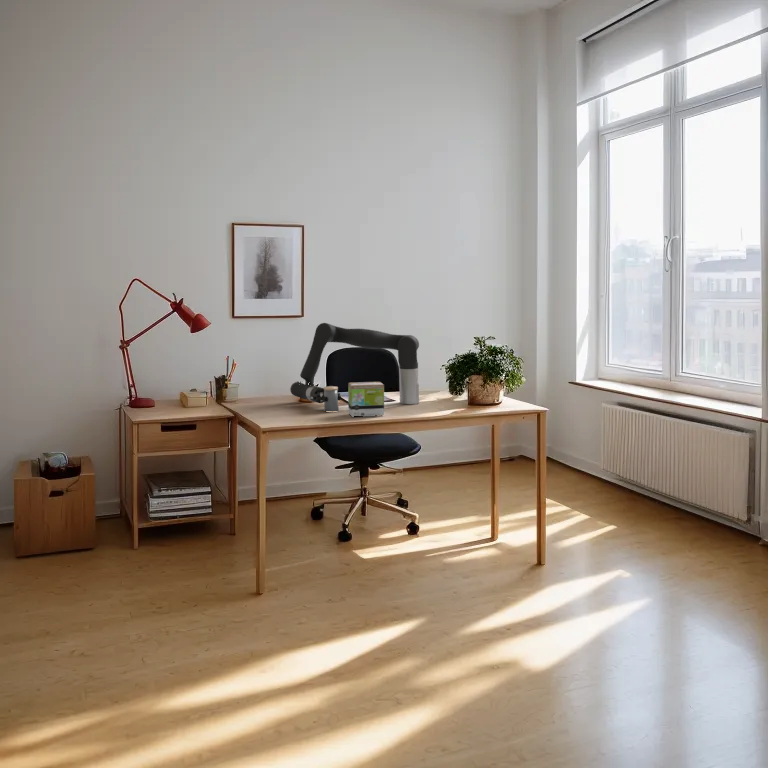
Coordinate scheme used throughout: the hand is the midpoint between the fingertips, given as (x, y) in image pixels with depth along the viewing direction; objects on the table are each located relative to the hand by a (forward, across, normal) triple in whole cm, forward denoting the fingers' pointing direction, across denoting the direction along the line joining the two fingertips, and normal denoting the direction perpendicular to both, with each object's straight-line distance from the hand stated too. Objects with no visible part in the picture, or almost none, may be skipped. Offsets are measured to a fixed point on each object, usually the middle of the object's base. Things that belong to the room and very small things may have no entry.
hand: (333, 398), depth 374 cm
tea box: (+16, +8, +7) cm, 19 cm away
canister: (-2, 0, +6) cm, 7 cm away
